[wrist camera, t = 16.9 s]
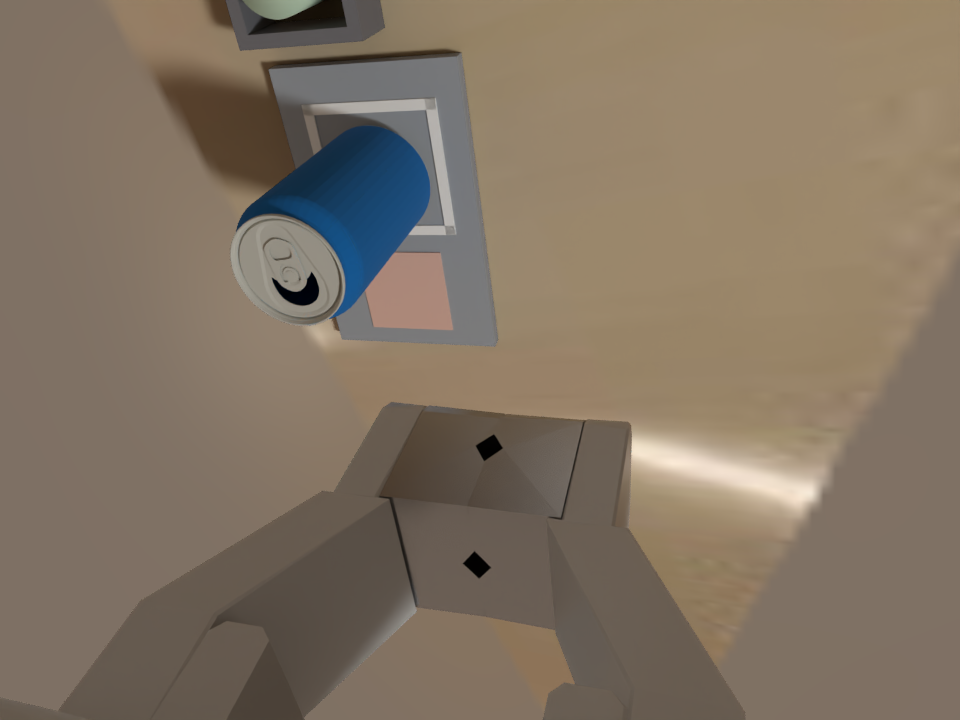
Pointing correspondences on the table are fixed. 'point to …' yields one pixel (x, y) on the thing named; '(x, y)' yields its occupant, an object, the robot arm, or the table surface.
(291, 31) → the button housing
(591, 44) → the table surface
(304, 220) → the beverage can
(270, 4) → the button
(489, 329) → the picture board
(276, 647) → the robot arm
